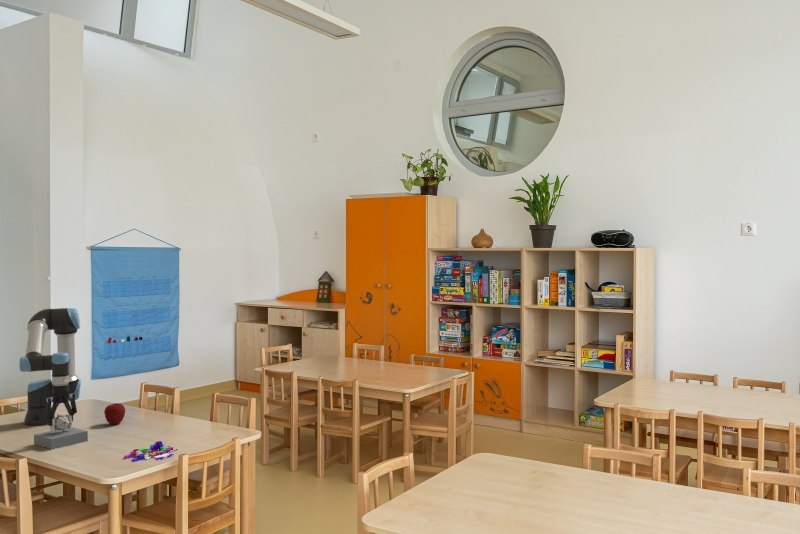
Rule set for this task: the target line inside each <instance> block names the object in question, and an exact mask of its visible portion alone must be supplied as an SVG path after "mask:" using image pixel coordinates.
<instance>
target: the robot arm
mask: <svg viewBox="0 0 800 534" xmlns="http://www.w3.org/2000/svg"><path fill="white" fill-rule="evenodd" d="M79 315H80V314H79V312H78V309H77V308H75V307H73V308H71V307H65V308H64V307H63V308H61V307H60V308H44V309H41V310H39V311H38V312H36V313H35V314H34V315H33V316H32V315H31V317H30V319H29V320H28V323H27V328H26V329H27V330H26V331H27V332H28V335H27V343H26V349H25V355H24V356H21V357H20V358H19V370H20V372H23V373H24V372H25V373H26V372H27V373H29V372H30V373H31V372H43V371H44V372H45V371H51V378H43V379H37V380H34V381H31V382H29V383H28V385H27V391H26V393H27V411H26V413H25V416H24V419H23V424H24V425H25V424H26V425H27V426H39V425H46V424H48V426H49V431H50V432H52V433H55V418H56V416H55V414H56V411H57V409H58V406H59V405H60V404H63V405H64V408H65V409H66V412H67V413H68V415H67V414H66V415H67V418H68V420H69V422H70V423H73V422H74V416H75V415H76V414H78V410H77V405H76V400H78V399H79V398H80V394H81V393H80V392H81V383H82V380H81V379H79V376H78V375H77V374H76V352H75V351H76V350H75V349H76V348H75V345H76V344H75V334H77V333H78V330H80V328H81V323H80V316H79ZM48 331H53V333H54V335H56V338H57V339H56V340H57V341H56V343H57V344H56V345H57V347H56V349H57V352H55V353H52V354H50V355H49V354H48V355H43V354H44V353H43V352H44V347H45V346H44V343H45V336H46V334H45V333H47V332H48ZM69 402H70V403H69ZM72 427H73V424H69V425H68V426H67V428H68V429H72Z"/></svg>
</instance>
